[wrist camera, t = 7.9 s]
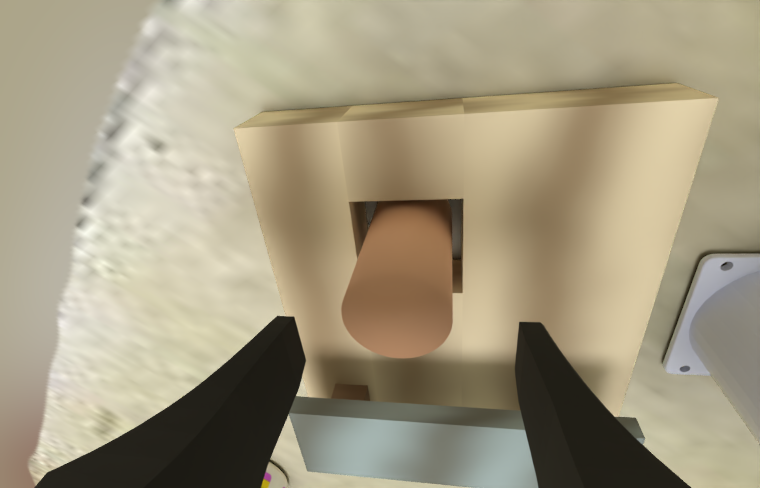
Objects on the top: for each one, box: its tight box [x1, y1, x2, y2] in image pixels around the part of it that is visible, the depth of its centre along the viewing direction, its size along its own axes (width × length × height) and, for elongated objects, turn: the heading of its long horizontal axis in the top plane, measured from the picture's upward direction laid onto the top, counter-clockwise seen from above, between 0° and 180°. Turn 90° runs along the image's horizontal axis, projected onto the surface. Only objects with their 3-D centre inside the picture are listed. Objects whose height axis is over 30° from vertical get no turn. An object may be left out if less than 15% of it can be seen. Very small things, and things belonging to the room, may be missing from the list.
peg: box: [341, 199, 453, 358], centre depth 18 cm, size 4×4×8 cm
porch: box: [234, 83, 719, 488], centre depth 19 cm, size 18×18×7 cm
